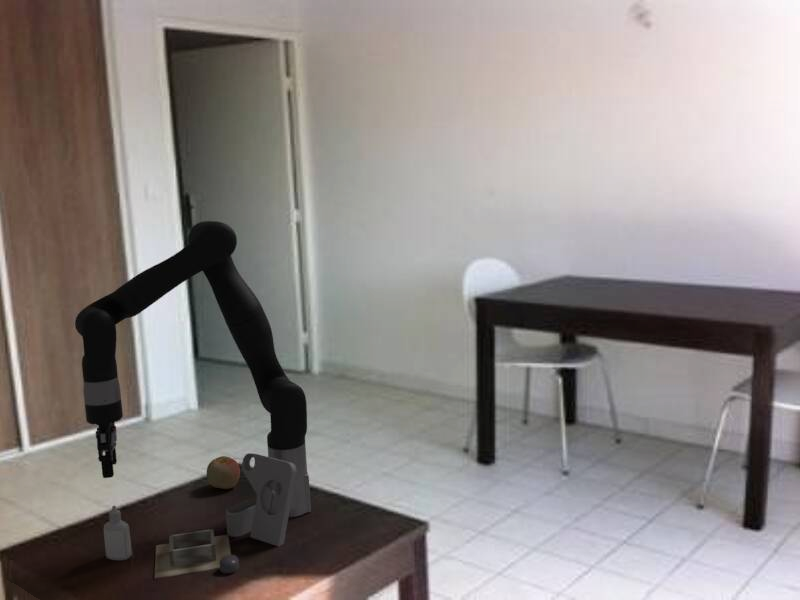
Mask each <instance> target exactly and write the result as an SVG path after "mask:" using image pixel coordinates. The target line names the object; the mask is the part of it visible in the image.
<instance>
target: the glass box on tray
mask: <svg viewBox="0 0 800 600" xmlns="http://www.w3.org/2000/svg"><path fill="white" fill-rule="evenodd" d="M168 540H169V542H168V543H163V544H157V545H156V546H155V560H154V561H155V563H154V580H159V579H165V578H171V577H177V576H184V575H190V574H195V573H202V572H209V571H214V570H215V571H216V570H220V560H221V558H222V557H224V556H226V555H232V552H231V551H232V550H231V545H230V539H229V535H228V534H223V535H217V536H215V530H214V528H211V529H204V530H197V531H190V532H181V533H175V534H170V535H169V537H168Z"/></svg>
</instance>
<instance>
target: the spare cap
mask: <svg viewBox="0 0 800 600" xmlns="http://www.w3.org/2000/svg"><path fill="white" fill-rule="evenodd" d="M239 570H240V559H239V558H238V556H236V554H235V555H234V554H231V555H226V556H224V557H222V558H221V560H220V569H219V571H220V572H221V573H222V574H225V575H228V574H234V573H236V572H238V571H239Z"/></svg>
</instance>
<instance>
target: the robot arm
mask: <svg viewBox="0 0 800 600" xmlns="http://www.w3.org/2000/svg"><path fill="white" fill-rule="evenodd" d="M237 240H238V237H237V235H236V232H235V231H234V228H232V227H231V226H230V225H228V224H227V223H225V222H221V221H217V220H216V221H215V220H205V221H200V222H197V223H196V224H194V225H192V227H191V229H190V231H189V233H188V237H187V243H188V244H187V245H186V246H184V247H183V248H182V249H180V250H179V251H177V252H176V253H175V254H173V255H171V256H170V257H168V258H166V259H164V260H162V261H161V262H159V263H157V264H155V265H152V266H150V267H149V268H146V269H145V270H143V271H142V272H140V273H139V274H137V275H135V276H134V277H132V278H131V279H129V280H128V281H126V282H125V283H123V284H122V285H121V286H120V287H118V288H117V289H115V290H114V291H113V292H111V293H109V294H107V295H104V296H102V298H99V299H97V300H95V301H94V302H92V303H90V304H88V305H87V306H86V307H84V308H83V309H81V310H80V312H79V313H78V314H77V316H76V318H75V320H74V321H75V323H74V324H75V325H74V326H75V329H76V331H77V333H78V334H79V335H80V336H81V337H82V343H83V344H82V345H83V356H82V360H81V369H82V379H83V386H82V387H83V388H82V389H83V391H82V392H83V401H84V409H85V410H84V411H85V419H86V420H85V421H86V423H88V424H90V425H97V426H98V427H96V430H95V438H96V448H97V449H96V450H97V454H98V458H97V459H98V462H100V463H101V465H100V466H101V473H102V478H104V479H109V478H113V477H114V475H115V471H114V465H116V464H117V451H116V450H117V449H116V447H117V441H118V440H117V437H118V435H117V426H116V425H115V423H116V422H118V421H120V420H121V419H122V418H123V416H124V414H123V405H122V403H123V402H122V395H121V394H122V393H121V386H120V382H119V375H118V364H117V359H116V352H117V326H116V325H118V324H119V323H120V322H123V320H125V319H129V318H130V319H131V318H133V317H136V316H137V315H139V314H140V313H142V312H143V311H145V310H147V309H148V308H149V307H150V306H151V305H153V304H154V303H155V302H157V301H158V300H160V299H161V298H163V297H164V296H165V295H167V294H168V293H170V292H171V291H172V290H174V289H176V288H177V287H178V286H180V285H181V284H182V283H184V282H185V281H187V280H189V279H190V278H192V277H194V276H195V275H197V274H199V273H203V274H204V276H205V277H206V280H207V281H208V283H209V285H210V287H211V289H212V292H213V294H214V297H215V300H216V303H217V304H218V307H219V309H220V312H221V314H222V316H223V319H224V322H225V324H226V326H227V328H228V330H229V332H230V335H231V336H232V339H233V341H234V343H235V345H236V347H237V348H238V351H239V352H240V355H241V356H242V358H243V359H244V362H245V364H246V365H247V367H248V369H249V372H250V373H251V376H252V379H253V381H254V382H253V383H254V385H255V387H256V391H257V394H258V397H259V400H260V403H261V405H262V407H263V408H264V409H265V411H266V412H268V413H269V414H270V417H269V418H270V432H269V433H268V434H267V436H266V442H267V444H266V445H267V457H271V458H275V459H279V460H283V461H287V462H291V463H293V464H294V465H295V466H296V470H297V473H296V479H295V484H294V490H293V495H292V501H291V507H290V512H289V518H294V517H295V518H296V517H300V516H303V515H305V514H308V513H312V506H311V489H310V476H309V474H308V464H307V452H306V451H307V450H306V447H307V446H306V434H307V431H308V410H307V407H308V406H307V399H306V398H307V397H306V394H305V392H304V390H303V389H302V387H301V386H300V385H298V384H296V383H295V382H293V381H291V380H290V379H289V377H288V376H287V374H286V373H285V371H284V370H283V367H282V365H281V363H280V361H279V359H278V357H277V354H276V350H275V342H274V337H273V331H272V327H271V324H270V322H269V319H268V316H267V315H266V313H265V310H264V308H263V306H262V304H261V302H260V300H259V298H258V297H257V296H256V295H255V293H254V292H253V290H252V288H250V286H249V285H248V284H247V283H246V281H245V280H244V278H243V277H242V276H241V274H240V273H239V271H238V269H237V267H236V265H235V263H234V260H233V257H232V255H233V253H234V252H235V250H236V247H237V244H238V241H237ZM281 489H282V487H281V484H280V483H279V482H277V483H276V484H275V486H274V492H275V494H276V495H279V494H280V492H281Z"/></svg>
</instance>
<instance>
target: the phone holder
mask: <svg viewBox="0 0 800 600" xmlns="http://www.w3.org/2000/svg"><path fill="white" fill-rule="evenodd" d="M252 458H253V459H254V464H253V468H252V467H251V460H252ZM241 462H242V463H241V471H242V472H243V474H244V476H245V478H246V479H247V481H248V482H249V485H251V487H252V489H253V490H254V491H255V493H256V496H257V497H256V498H249V499H245V500H244V501H241V502H240V503H237V504H234V505H233V506H230V507H228V508H227V509H226V510H225V519H226V520H225V521H226V531H227V532H226V533H227V534H226V535H228V537H233V538H236V537H237V538H238V537H241V536H244V535H246V534H249V533H250V537H249V538H252V539H255V540H258V541H261V542H263V543H266V544H270V545H274V546H277V547H280V546H283V545H284V543H285V539H286V534H287V529H288V528H287V527H288V522H289V518H290V517H289V512H290V507H291V501H292V495H293V490H294V484H295V479H296V473H297V470H296V466H295V465H294V464H293V463H291V462H287V461H283V460H279V459H275V458H271V457H268V456H266V455H262V454H257V453H246V454H245V455H244V457H243V458H242V461H241ZM277 482H279V483H280V484H281V487H282V489H281V492H280V494H279V495H276V494H275V492H274V486H275V484H276V483H277Z"/></svg>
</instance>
